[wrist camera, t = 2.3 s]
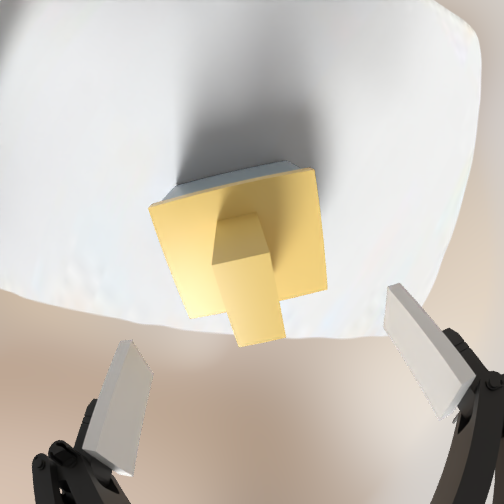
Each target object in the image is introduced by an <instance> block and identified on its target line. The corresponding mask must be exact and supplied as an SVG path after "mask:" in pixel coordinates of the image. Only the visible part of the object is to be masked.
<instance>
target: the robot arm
mask: <svg viewBox="0 0 504 504" xmlns="http://www.w3.org/2000/svg"><path fill="white" fill-rule="evenodd" d="M383 328H384V329H385V331H386V332H387V334H388V335H389V337H390V338H391V340H392V342H393V343H394V345H395V346H396V348H397V349H398V351H399V353H400V354H401V356H402V358H403V359H404V361H405V362H406V364H407V366H408V367H409V369H410V371H411V372H412V374H413V376H414V377H415V379H416V381H417V382H418V384H419V386H420V388H421V389H422V391H423V393H424V394H425V396H426V398H427V400H428V402H429V404H430V405H431V407H432V409H433V411H434V412H435V414H436V416H437V418H438V420H439V421H440V420H442V419H443V418H445V417H447V416H449V415H450V414H452V413H453V412H454V410H455V409H456V407H457V406H458V408H459V410H460V411H459V413H458V414H457V416H456V417H455V418H454V420H453V422H452V423H455V422H456V421H457V423H456V428H455V432H454V436H453V440H452V444H451V448H450V451H449V454H448V457H447V461H446V464H445V467H444V470H443V473H442V476H441V479H440V481H439V484H438V486H437V489H436V491H435V494H434V496H433V499H432V501H431V503H430V504H485V502H486V499H487V495H488V492H489V489H490V486H491V482H492V478H493V475H494V470H495V485H494V495H493V504H504V374H502V375H501V374H499V373H498V372H495V371H488V370H487V369H486V368H485V366H484V365H483V364H482V362H481V361H480V360H479V358H478V357H477V356H476V355H475V353H474V352H473V351H472V350H471V349H470V348H469V346H468V345H467V343H466V342H464V340H463V339H462V337H461V336H460V335H459V334H458V333H457V332H455V331H454V330H452V329H450V328H447V329H445V330H443V331H441V329H440V328H439V327H438V326H437V325H436V324H435V322H434V321H433V320H432V319H431V317H429V315H428V314H427V313H426V312H425V311H424V309H423V308H422V307H421V306H420V305H419V304H418V302H417V301H416V300H415V299H414V298H413V297H412V296H411V295H410V294H409V292H408V291H407V290H406V289H405V288H404V287H403V286H402V285H401V284H400V283H398V284H395V285H391V286H388V287H387V296H386V307H385V316H384V324H383ZM153 375H154V373H153V372H152V370H151V369H150V367H149V366H148V364H147V363H146V361H145V360H144V358H143V356H142V355H141V353H140V352H139V351H138V348H137V347H136V345H135V344H134V342H133V340H125V341H120V343H119V346H118V348H117V350H116V353H115V355H114V358H113V360H112V363H111V365H110V368H109V370H108V373H107V375H106V378H105V381H104V383H103V386H102V389H101V392H100V394H99V397H98V399H93V400H92V401H91V403H90V404H89V405H88V407H87V409H86V412H85V417H84V418H83V421H82V424H81V427H80V430H79V433H78V436H77V439H76V442H75V446H74V448H72V447H71V446H70V445H69V444H67V443H66V442H64V441H62V440H58V441H55V442H54V443H53V444H52V445H51V447H50V448H49V452H48V456H46V455H45V454H43V453H40V454H38V455H36V456H35V457H34V459H33V462H32V473H33V485H34V494H35V501H36V504H131V503H130V502H129V500H128V498H127V497H126V496H125V494H124V492H123V491H122V489H121V487H120V486H119V484H118V482H117V480H116V479H115V477H114V476H113V475H112V474H111V473H112V470H113V471H115V472H117V473H118V474H120V475H126V476H133V475H134V469H135V462H136V457H137V451H138V445H139V440H140V435H141V430H142V425H143V420H144V415H145V410H146V406H147V401H148V396H149V392H150V388H151V384H152V379H153ZM59 488H60V489H62V494H61V493H60V489H59Z"/></svg>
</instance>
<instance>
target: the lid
mask: <svg viewBox="0 0 504 504" xmlns="http://www.w3.org/2000/svg"><path fill="white" fill-rule="evenodd" d="M148 209H149V212H150V215H151V218H152V221H153V224H154V227H155V230H156V233H157V236H158V239H159V242H160V245H161V247H162V250H163V253H164V256H165V258H166V261H167V264H168V266H169V269H170V271H171V274H172V277H173V279H174V282H175V284H176V287H177V289H178V292H179V294H180V297H181V299H182V301H183V304H184V306H185V309H186V311H187V313H188V316H189V318H190V319H193V318H198V317H204V316H209V315H215V314H220V313H225V312H227V314H228V317H229V320H230V323H231V326H232V329H233V332H234V335H235V338H236V341H237V343H238V346H239V347H243V346H248V345H253V344H258V343H263V342H268V341H273V340H277V339H281V338H286V335H285V330H284V324H283V319H282V313H281V308H280V303H279V301H281V300H285V299H290V298H294V297H298V296H302V295H307V294H311V293H315V292H319V291H323V290H327V275H326V263H325V251H324V241H323V232H322V223H321V214H320V206H319V198H318V191H317V184H316V177H315V170H314V169H312V168H310V167H309V168H303V169H298V170H292V171H287V172H282V173H276V174H271V175H266V176H262V177H257V178H252V179H247V180H243V181H238V182H234V183H230V184H225V185H221V186H217V187H213V188H209V189H205V190H201V191H197V192H193V193H189V194H186V195H182V196H178V197H175V198H171V199H167V200H164V201H160V202H157V203H153V204H152V205H151V206H150V207H149V208H148Z"/></svg>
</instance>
